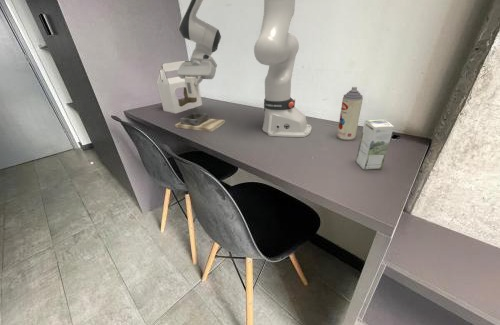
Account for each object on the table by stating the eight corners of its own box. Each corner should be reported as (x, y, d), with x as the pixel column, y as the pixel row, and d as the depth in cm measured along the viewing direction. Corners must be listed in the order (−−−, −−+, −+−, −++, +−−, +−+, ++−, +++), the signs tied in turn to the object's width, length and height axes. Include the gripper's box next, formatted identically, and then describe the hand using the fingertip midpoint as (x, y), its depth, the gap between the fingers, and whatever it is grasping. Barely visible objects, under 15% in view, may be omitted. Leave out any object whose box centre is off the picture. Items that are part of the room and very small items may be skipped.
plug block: (199, 95, 110) (196, 76, 105) (194, 97, 106) (190, 78, 102) (193, 95, 111) (189, 76, 107) (187, 97, 108) (183, 78, 103)
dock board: (225, 122, 115) (224, 114, 113) (211, 131, 105) (210, 122, 103) (191, 119, 123) (189, 111, 121) (175, 127, 113) (173, 118, 111)
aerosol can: (335, 134, 93) (342, 85, 84) (351, 134, 93) (361, 85, 83) (339, 141, 87) (347, 89, 78) (357, 140, 87) (367, 88, 77)
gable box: (190, 102, 157) (182, 60, 144) (202, 105, 150) (195, 60, 136) (163, 111, 143) (151, 64, 129) (175, 113, 135) (163, 64, 121)
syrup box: (372, 160, 73) (382, 118, 66) (382, 169, 68) (394, 125, 61) (355, 161, 73) (364, 119, 66) (363, 170, 68) (374, 126, 61)
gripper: (179, 56, 110) (170, 80, 107) (213, 56, 102) (205, 81, 99) (186, 65, 116) (178, 88, 113) (220, 65, 108) (211, 89, 105)
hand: (191, 85), depth 106 cm, fingers closed on plug block, 4 cm apart
